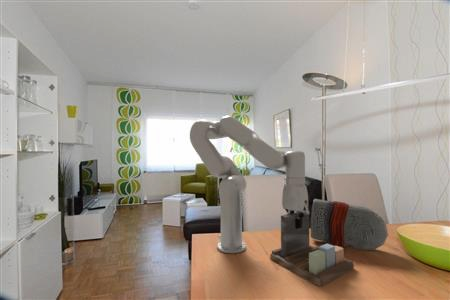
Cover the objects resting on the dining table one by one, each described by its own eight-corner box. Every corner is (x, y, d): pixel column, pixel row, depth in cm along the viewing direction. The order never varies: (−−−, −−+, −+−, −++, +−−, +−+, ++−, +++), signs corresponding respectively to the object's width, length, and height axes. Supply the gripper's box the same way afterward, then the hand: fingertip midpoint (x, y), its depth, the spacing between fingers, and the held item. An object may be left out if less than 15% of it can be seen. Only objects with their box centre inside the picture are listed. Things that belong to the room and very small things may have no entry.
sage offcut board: (309, 276, 77) (308, 253, 77) (317, 272, 80) (317, 249, 80) (316, 280, 75) (316, 256, 75) (325, 276, 77) (325, 252, 77)
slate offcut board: (319, 271, 80) (318, 246, 80) (327, 268, 83) (327, 243, 83) (326, 275, 78) (326, 249, 78) (335, 271, 80) (334, 246, 80)
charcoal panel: (281, 256, 89) (280, 215, 89) (304, 248, 97) (304, 210, 97) (285, 258, 87) (285, 217, 87) (309, 250, 95) (309, 211, 95)
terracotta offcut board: (328, 267, 83) (328, 248, 83) (336, 264, 86) (336, 245, 86) (336, 271, 81) (336, 251, 81) (343, 267, 83) (343, 248, 83)
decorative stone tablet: (312, 199, 105) (391, 212, 92) (313, 197, 111) (387, 208, 98) (308, 241, 105) (386, 259, 93) (309, 236, 111) (383, 253, 98)
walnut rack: (270, 258, 90) (270, 251, 90) (303, 247, 101) (303, 240, 101) (319, 286, 72) (319, 277, 72) (353, 268, 82) (353, 260, 82)
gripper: (274, 180, 97) (274, 223, 97) (305, 184, 83) (306, 235, 83) (286, 178, 101) (286, 220, 101) (318, 183, 87) (318, 231, 87)
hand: (295, 226), depth 92 cm, fingers closed on charcoal panel, 2 cm apart
